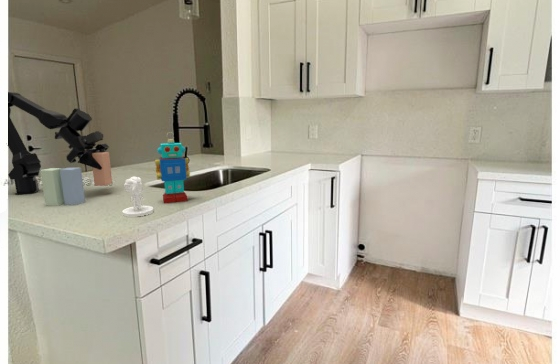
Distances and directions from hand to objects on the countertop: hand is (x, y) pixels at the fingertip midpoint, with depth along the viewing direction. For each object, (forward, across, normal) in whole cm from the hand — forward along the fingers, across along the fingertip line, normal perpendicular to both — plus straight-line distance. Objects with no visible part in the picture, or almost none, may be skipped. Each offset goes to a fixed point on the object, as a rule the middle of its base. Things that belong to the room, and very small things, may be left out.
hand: (105, 167), depth 127 cm
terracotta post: (+4, 0, +6) cm, 7 cm away
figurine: (+25, -23, -10) cm, 36 cm away
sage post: (+1, -15, +14) cm, 21 cm away
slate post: (+5, -13, +10) cm, 17 cm away
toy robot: (+29, -7, -14) cm, 33 cm away
